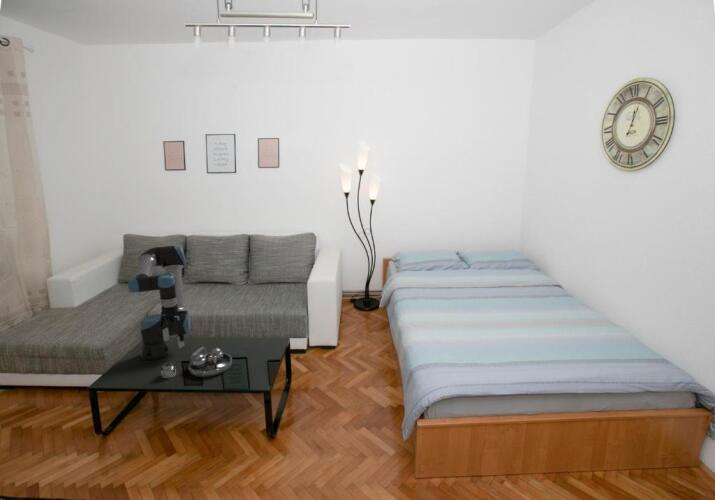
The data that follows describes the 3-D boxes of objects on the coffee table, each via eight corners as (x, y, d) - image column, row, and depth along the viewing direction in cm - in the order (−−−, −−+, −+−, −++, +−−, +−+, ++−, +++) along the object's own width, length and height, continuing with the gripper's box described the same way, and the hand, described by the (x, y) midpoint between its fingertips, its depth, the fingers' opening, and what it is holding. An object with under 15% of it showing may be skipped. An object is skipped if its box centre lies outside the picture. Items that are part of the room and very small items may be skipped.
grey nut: (160, 374, 209) (158, 364, 208) (173, 370, 214) (172, 360, 213) (164, 379, 205) (163, 369, 203) (178, 374, 209) (176, 364, 208)
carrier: (183, 367, 217) (181, 353, 216) (220, 353, 232) (219, 341, 231) (200, 382, 202) (198, 367, 200) (239, 366, 217) (238, 353, 215)
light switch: (191, 368, 215) (190, 355, 213) (204, 358, 226) (202, 345, 225) (194, 369, 215) (192, 355, 213) (206, 358, 226) (205, 346, 224)
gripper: (148, 302, 204) (153, 340, 209) (176, 312, 191) (181, 352, 196) (162, 298, 211) (167, 334, 215) (190, 307, 197) (194, 346, 202)
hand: (174, 343), depth 206 cm, fingers open, 13 cm apart
